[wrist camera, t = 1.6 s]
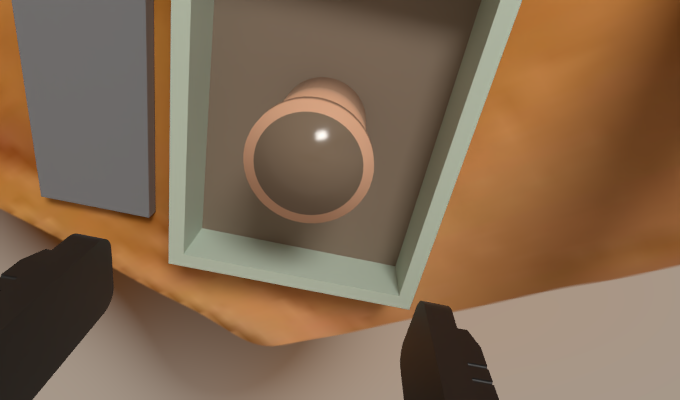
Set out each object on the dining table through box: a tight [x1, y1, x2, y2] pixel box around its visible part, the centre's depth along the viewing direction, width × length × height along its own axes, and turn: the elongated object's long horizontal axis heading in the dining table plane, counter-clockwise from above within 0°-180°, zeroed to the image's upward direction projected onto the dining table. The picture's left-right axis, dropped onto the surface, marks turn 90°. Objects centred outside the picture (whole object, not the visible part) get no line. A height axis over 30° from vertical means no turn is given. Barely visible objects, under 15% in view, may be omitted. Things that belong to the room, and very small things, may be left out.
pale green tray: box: [169, 0, 522, 310], centre depth 25 cm, size 17×22×4 cm
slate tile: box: [12, 0, 155, 218], centre depth 26 cm, size 8×20×1 cm, turn 169°
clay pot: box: [243, 77, 374, 223], centre depth 22 cm, size 6×6×8 cm
